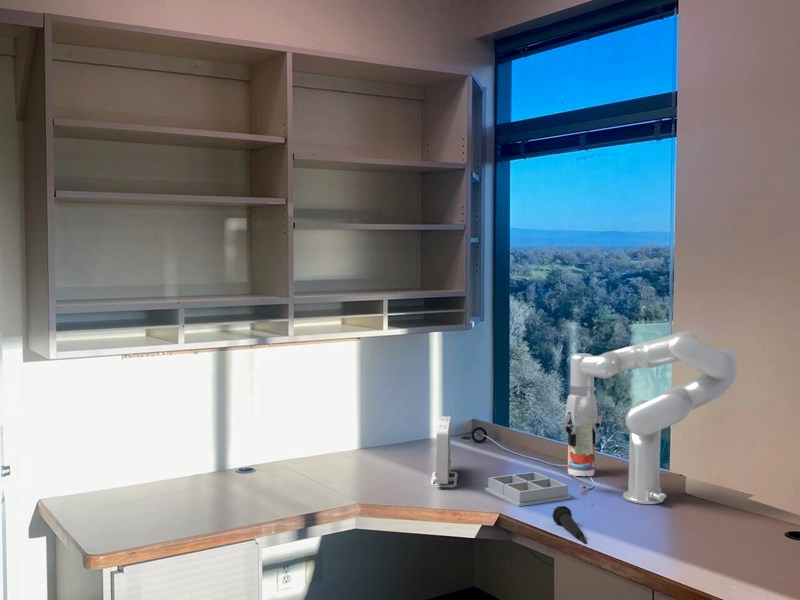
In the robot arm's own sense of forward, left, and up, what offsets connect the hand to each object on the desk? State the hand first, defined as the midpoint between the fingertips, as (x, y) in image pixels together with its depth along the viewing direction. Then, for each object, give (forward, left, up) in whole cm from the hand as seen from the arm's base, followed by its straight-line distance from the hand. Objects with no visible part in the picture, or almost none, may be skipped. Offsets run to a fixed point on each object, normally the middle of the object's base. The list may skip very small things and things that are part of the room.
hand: (581, 444), depth 275 cm
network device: (+32, +34, -16) cm, 49 cm away
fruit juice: (+18, -14, -16) cm, 28 cm away
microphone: (-31, +28, -16) cm, 45 cm away
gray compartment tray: (+5, +18, -16) cm, 25 cm away
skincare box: (0, 0, -3) cm, 3 cm away
